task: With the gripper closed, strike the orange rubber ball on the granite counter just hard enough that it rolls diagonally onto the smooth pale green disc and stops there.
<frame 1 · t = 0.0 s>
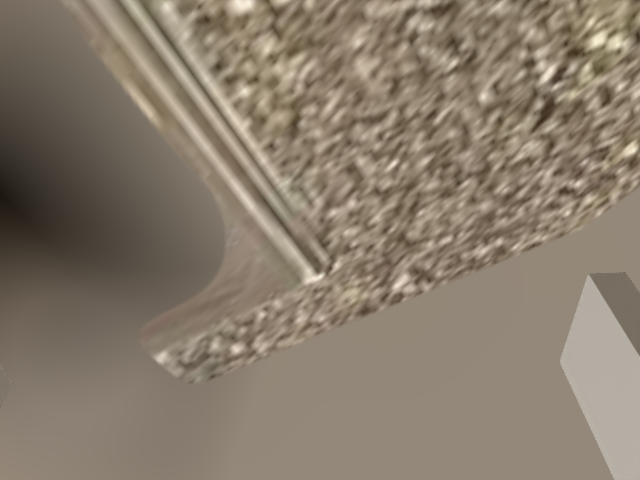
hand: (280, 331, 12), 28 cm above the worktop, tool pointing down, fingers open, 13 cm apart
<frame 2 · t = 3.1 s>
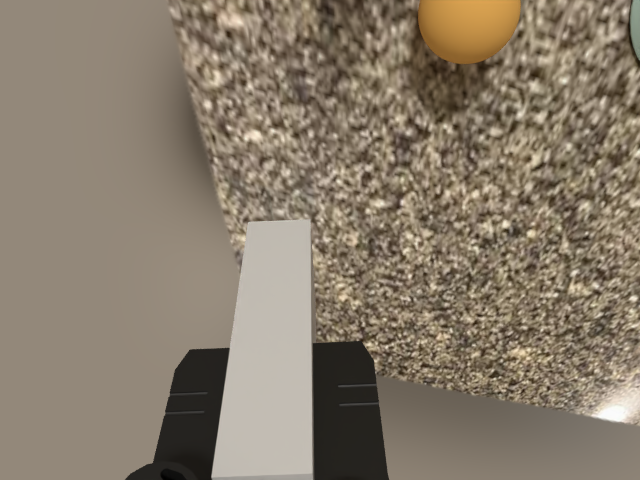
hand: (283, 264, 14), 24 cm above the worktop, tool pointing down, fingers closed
ball: (468, 12, 31), on the worktop
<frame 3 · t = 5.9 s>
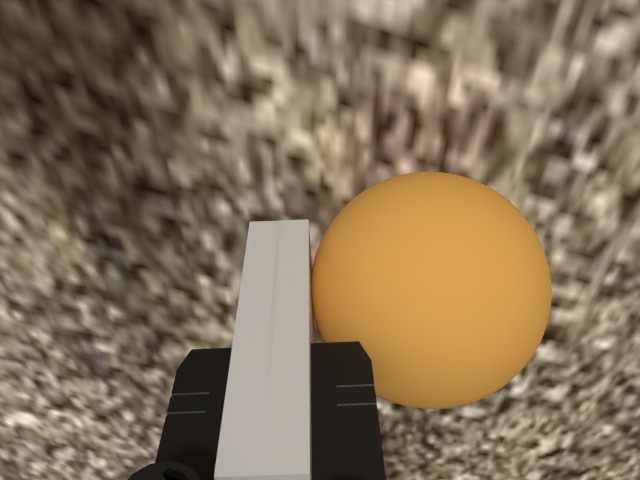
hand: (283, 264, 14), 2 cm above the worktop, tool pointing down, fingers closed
ball: (426, 288, 13), on the worktop, touching gripper
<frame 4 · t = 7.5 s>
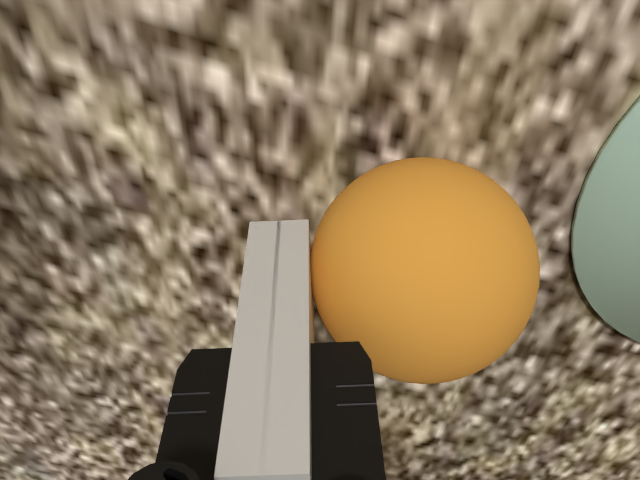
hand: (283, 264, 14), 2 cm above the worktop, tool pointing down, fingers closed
ball: (420, 269, 14), on the worktop, touching gripper
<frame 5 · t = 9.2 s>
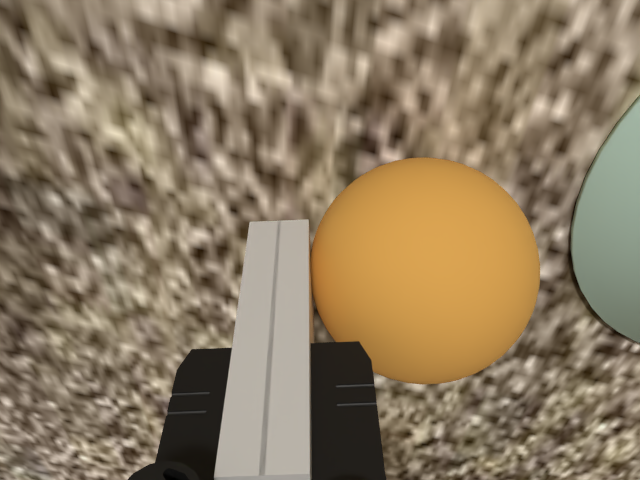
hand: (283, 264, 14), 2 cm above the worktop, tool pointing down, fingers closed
ball: (420, 269, 14), on the worktop, touching gripper
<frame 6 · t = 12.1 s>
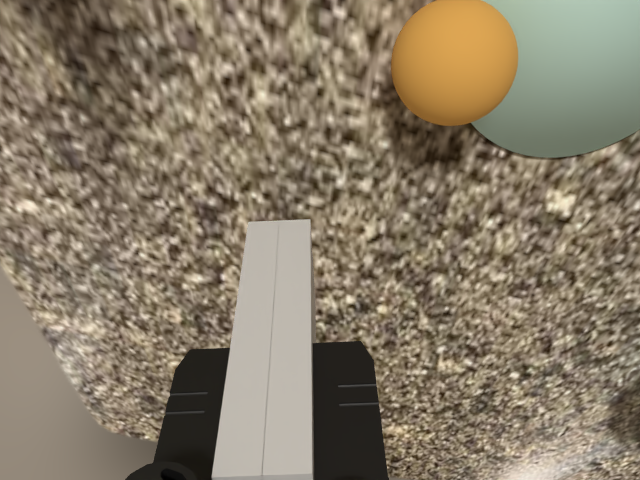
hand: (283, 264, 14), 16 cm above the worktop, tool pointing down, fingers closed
ball: (453, 63, 25), on the worktop
smooth pale green disc: (583, 36, 27), on the worktop
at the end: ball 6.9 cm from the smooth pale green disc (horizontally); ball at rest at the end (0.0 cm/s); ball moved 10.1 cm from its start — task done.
